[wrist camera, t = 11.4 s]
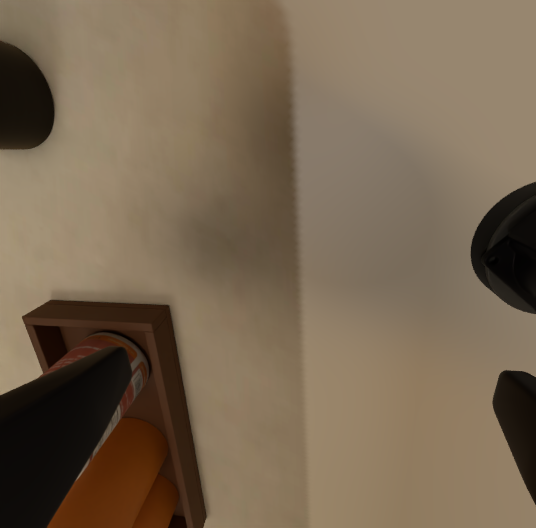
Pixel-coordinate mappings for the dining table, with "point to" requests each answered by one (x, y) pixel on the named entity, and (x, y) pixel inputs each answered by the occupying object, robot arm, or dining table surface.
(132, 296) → the dining table surface
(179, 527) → the walnut tray
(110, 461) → the bottle
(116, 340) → the pill bottle
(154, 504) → the bottle
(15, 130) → the charcoal tin
